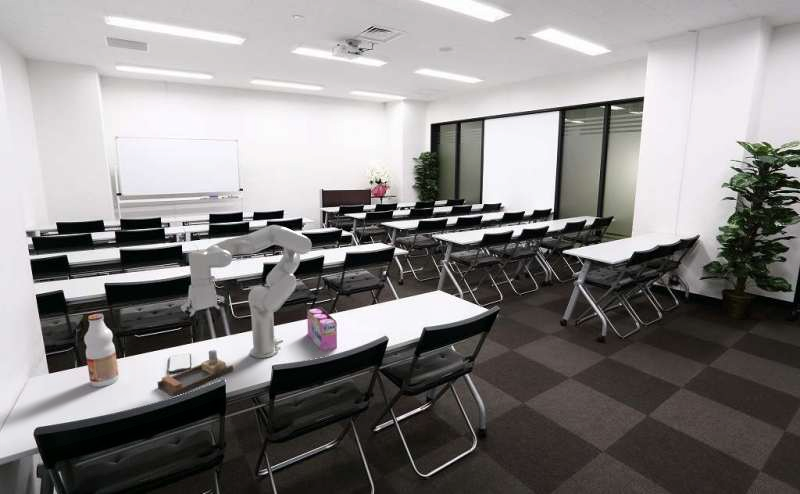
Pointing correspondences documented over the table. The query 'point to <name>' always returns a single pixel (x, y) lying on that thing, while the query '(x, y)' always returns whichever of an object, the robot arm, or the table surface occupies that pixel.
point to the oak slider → (213, 363)
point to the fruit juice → (100, 353)
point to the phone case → (179, 363)
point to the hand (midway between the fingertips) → (204, 320)
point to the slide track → (189, 380)
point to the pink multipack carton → (322, 328)
